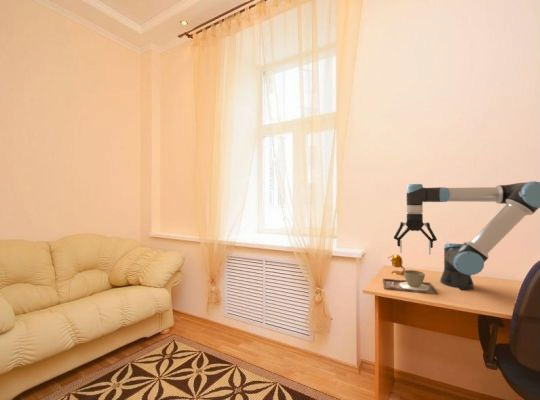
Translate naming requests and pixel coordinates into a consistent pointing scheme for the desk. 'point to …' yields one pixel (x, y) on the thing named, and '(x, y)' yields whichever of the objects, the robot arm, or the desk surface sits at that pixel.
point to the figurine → (397, 264)
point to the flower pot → (414, 277)
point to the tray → (396, 287)
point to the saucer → (422, 287)
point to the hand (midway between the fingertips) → (414, 253)
